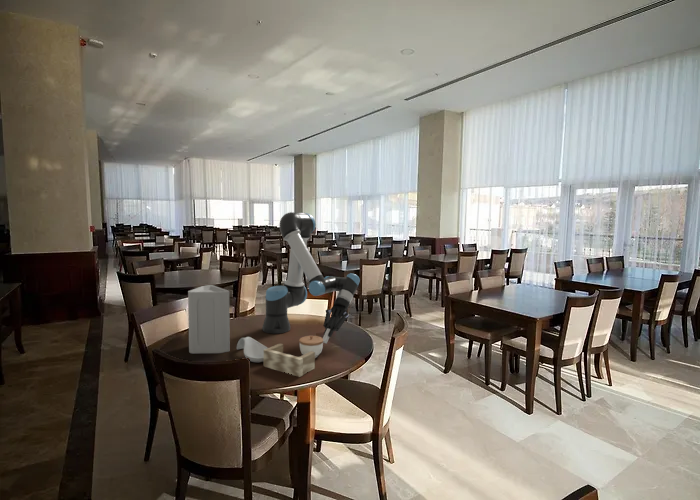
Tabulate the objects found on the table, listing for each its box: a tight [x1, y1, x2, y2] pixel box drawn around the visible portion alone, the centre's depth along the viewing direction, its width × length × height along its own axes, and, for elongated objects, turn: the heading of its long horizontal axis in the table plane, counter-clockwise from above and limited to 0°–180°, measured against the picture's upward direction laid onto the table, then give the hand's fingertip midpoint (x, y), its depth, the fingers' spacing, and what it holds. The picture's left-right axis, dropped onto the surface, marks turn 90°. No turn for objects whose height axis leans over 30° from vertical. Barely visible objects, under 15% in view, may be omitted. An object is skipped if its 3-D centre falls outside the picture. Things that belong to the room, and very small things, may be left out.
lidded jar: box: [298, 335, 324, 359], centre depth 172 cm, size 11×11×9 cm
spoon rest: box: [236, 336, 268, 363], centre depth 171 cm, size 24×12×7 cm, turn 40°
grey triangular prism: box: [187, 284, 231, 354], centre depth 177 cm, size 19×15×28 cm
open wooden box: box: [263, 343, 316, 378], centre depth 159 cm, size 19×10×7 cm, turn 59°
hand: (324, 341), depth 181 cm, fingers closed
